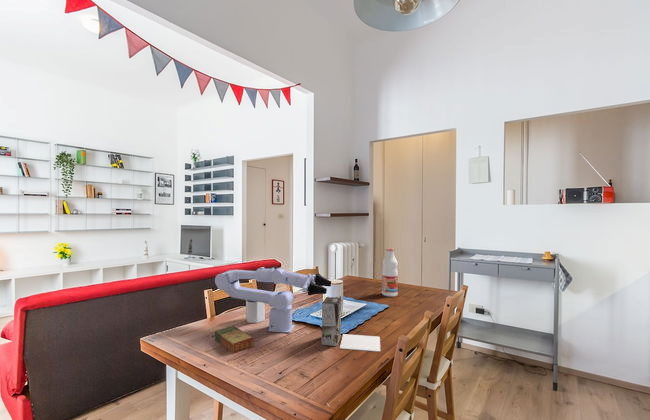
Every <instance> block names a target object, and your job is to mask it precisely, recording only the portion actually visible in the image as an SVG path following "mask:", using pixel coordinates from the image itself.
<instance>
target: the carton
mask: <svg viewBox="0 0 650 420" xmlns="http://www.w3.org/2000/svg"><path fill="white" fill-rule="evenodd" d="M214 340H215V342H217V343H218V344H220V345H221V346H222V347H223V348H225V349H226V350H227V351H229V352H230V353H231V354H236V353H239V352H243V351H245V350H249V349H252V348H253V347H254V337H253V336H251V335H250V334H248V333H246V332H245V331H243V330H241V329H240V328H239V327H236V326H235V325H231V326H227V327H224V328H221V329H217V330H215V331H214Z"/></svg>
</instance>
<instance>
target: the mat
mask: <svg viewBox="0 0 650 420" xmlns="http://www.w3.org/2000/svg"><path fill="white" fill-rule="evenodd" d="M339 349H340V350H351V351H352V350H353V351H365V352H375V353H376V352H377V353H381V338H380V336H377V335H376V336H375V335H374V336H373V335H363V334H348V333H347V334H346V333H343V334H342V338H341V342H340V346H339Z"/></svg>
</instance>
